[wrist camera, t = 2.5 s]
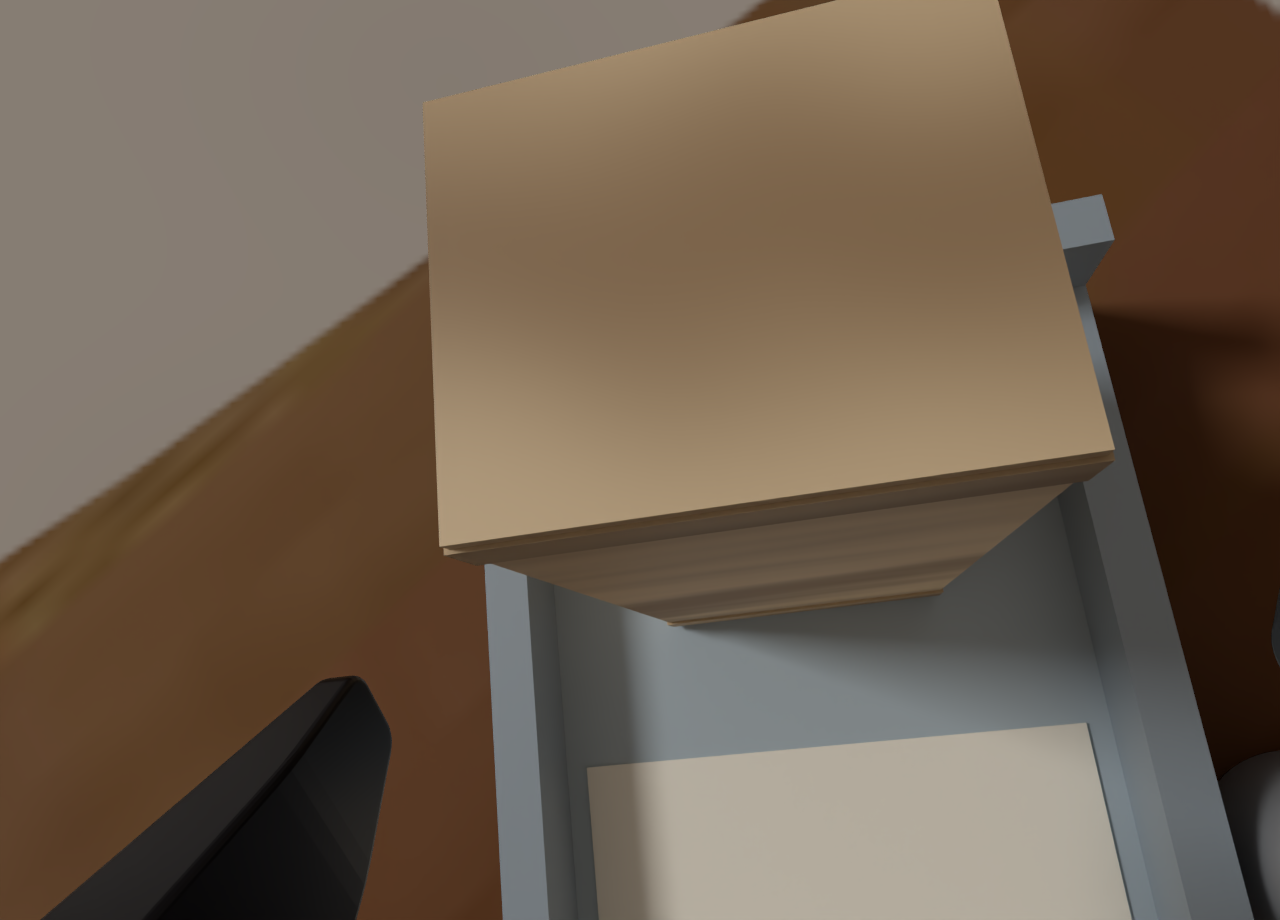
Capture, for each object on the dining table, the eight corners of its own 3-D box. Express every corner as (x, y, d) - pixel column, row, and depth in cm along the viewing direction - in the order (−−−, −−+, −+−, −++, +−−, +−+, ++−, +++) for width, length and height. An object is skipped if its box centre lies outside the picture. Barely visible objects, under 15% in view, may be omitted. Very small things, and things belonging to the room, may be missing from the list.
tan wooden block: (938, 595, 19) (1122, 455, 7) (675, 627, 20) (435, 552, 8) (897, 385, 21) (993, -43, 8) (652, 425, 22) (418, 99, 9)
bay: (1472, 1011, 16) (1825, 1197, 11) (561, 1039, 20) (447, 1191, 14) (1235, 269, 21) (1394, 109, 15) (518, 395, 24) (418, 305, 18)
